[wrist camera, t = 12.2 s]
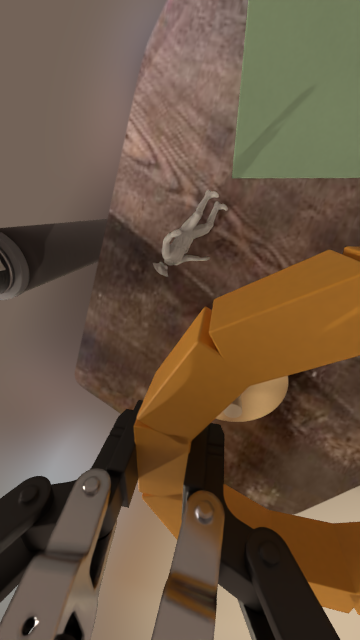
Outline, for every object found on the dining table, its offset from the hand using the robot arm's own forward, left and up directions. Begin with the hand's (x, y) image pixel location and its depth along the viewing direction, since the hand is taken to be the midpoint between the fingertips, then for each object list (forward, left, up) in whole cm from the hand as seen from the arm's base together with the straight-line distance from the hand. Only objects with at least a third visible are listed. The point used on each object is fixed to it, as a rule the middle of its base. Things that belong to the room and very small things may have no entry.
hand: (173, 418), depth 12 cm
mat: (+11, +22, -27) cm, 37 cm away
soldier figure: (-3, +6, -27) cm, 28 cm away
